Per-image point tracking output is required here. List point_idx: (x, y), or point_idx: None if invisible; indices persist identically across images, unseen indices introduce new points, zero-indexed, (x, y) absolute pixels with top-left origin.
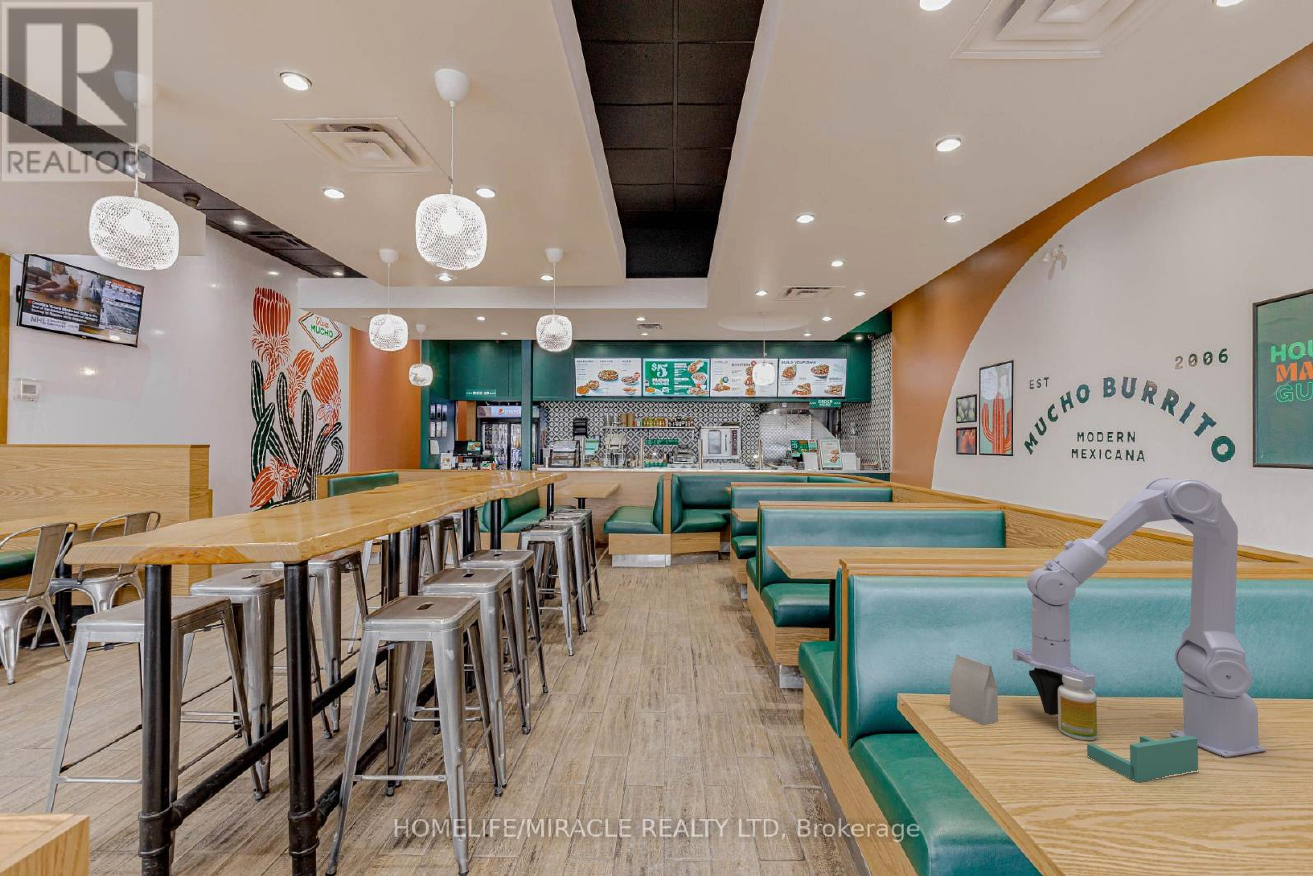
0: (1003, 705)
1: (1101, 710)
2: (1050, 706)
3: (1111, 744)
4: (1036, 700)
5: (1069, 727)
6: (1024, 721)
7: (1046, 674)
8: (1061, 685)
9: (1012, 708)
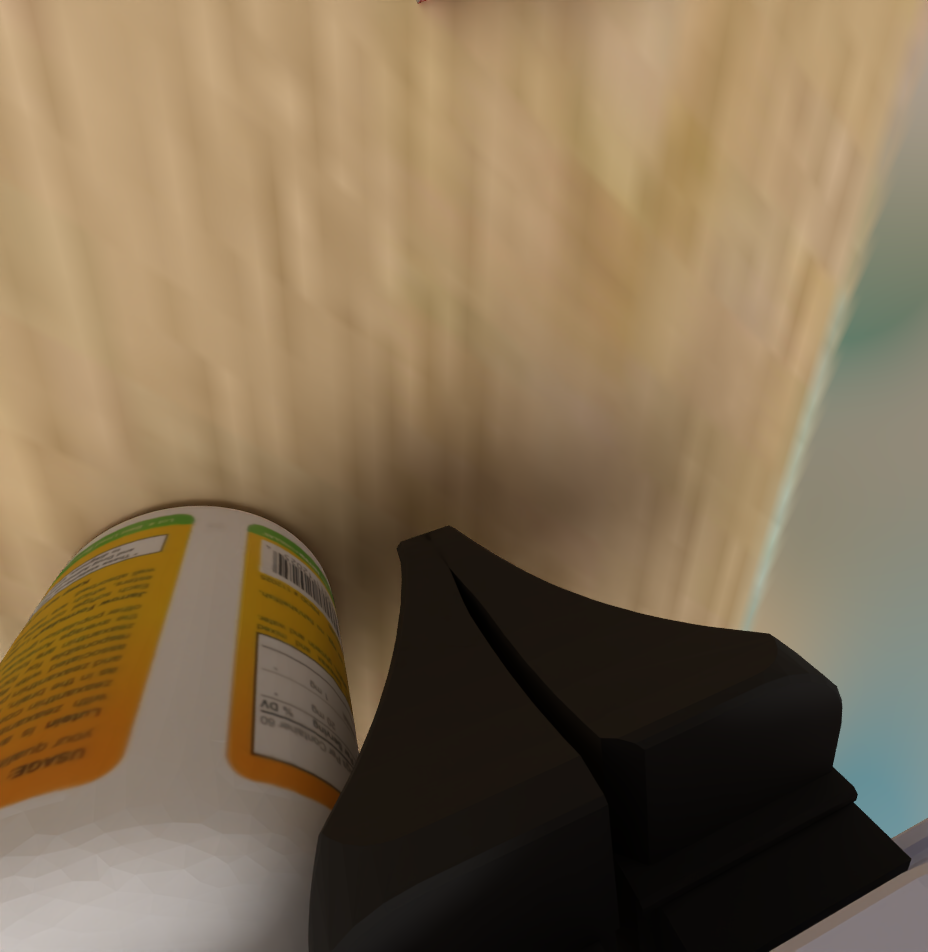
0: (697, 338)
1: None
2: (402, 586)
3: None
4: (706, 601)
5: (82, 568)
6: (422, 319)
7: (592, 909)
8: (273, 948)
9: (644, 376)
